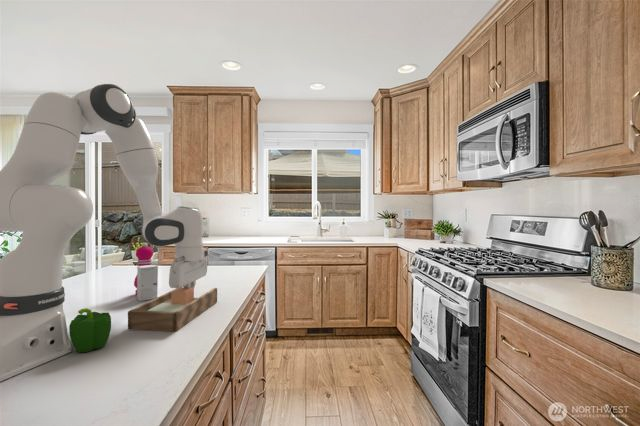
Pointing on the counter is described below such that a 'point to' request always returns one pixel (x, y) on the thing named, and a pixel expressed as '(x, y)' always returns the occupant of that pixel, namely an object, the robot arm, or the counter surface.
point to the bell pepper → (90, 330)
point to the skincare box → (147, 282)
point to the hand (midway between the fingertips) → (189, 294)
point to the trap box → (168, 312)
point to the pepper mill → (143, 258)
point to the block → (182, 296)
